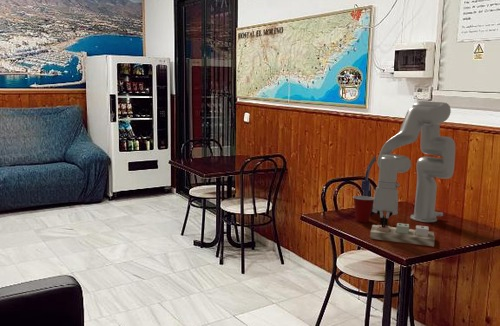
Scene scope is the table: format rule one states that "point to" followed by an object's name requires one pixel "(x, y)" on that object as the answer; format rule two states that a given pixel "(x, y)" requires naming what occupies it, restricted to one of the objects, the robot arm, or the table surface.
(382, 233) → the board
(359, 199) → the plastic cup
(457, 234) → the table surface
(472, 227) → the table surface
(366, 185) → the hand press
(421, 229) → the tile one
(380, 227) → the tile three
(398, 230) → the tile two
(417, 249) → the table surface
